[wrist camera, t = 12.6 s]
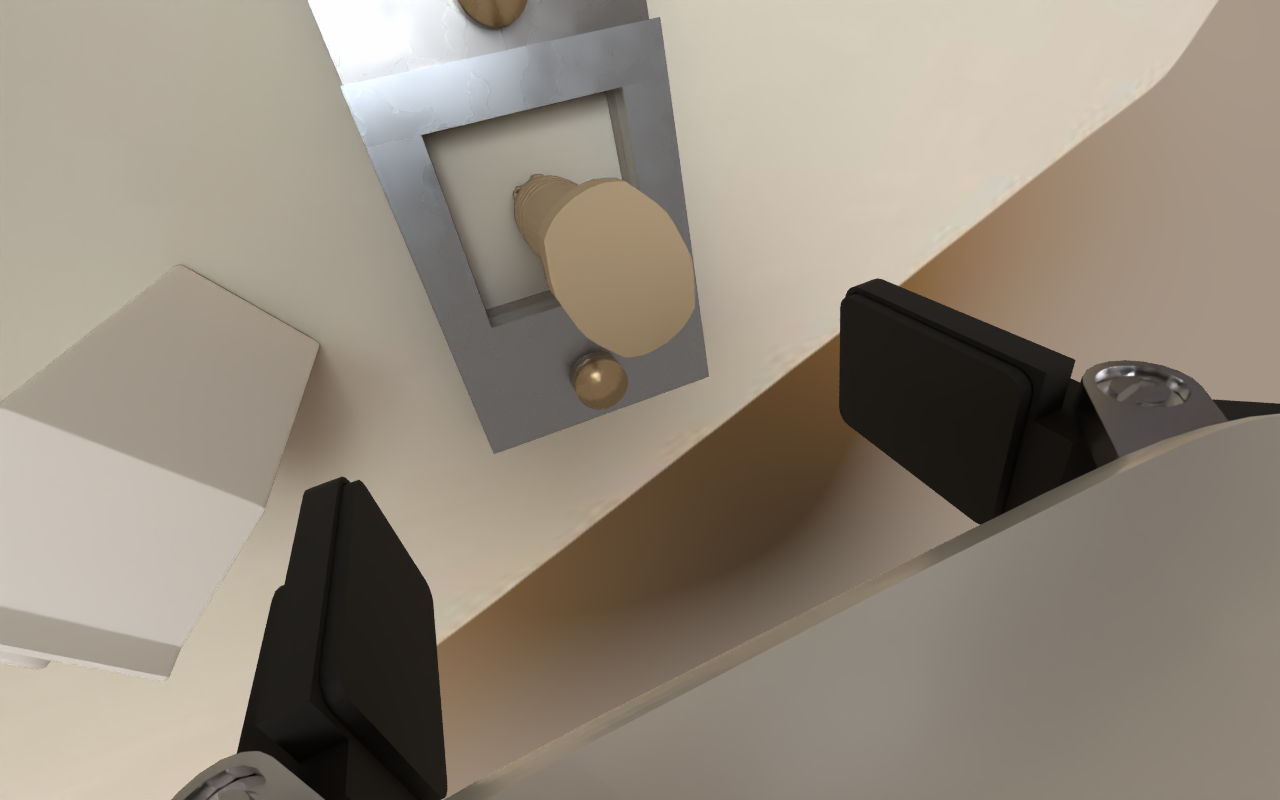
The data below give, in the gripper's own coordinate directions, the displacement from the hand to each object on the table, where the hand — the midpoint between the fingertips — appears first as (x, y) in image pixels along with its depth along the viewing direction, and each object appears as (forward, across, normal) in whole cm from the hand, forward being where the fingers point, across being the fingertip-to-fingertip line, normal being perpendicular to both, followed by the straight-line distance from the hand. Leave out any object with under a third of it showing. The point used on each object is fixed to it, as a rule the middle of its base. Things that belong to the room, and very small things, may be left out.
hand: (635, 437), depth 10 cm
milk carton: (+25, +16, +4) cm, 30 cm away
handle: (+25, -3, +1) cm, 25 cm away
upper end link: (+25, -3, +4) cm, 25 cm away
